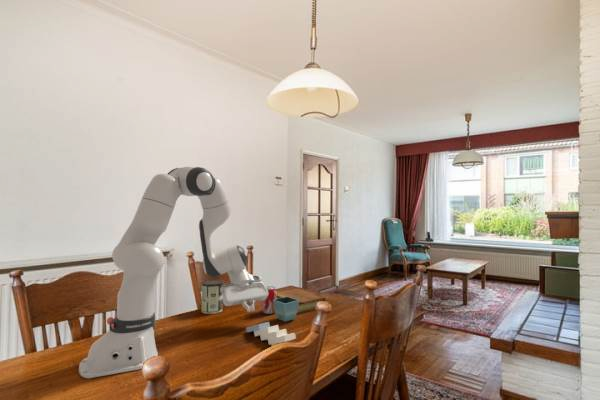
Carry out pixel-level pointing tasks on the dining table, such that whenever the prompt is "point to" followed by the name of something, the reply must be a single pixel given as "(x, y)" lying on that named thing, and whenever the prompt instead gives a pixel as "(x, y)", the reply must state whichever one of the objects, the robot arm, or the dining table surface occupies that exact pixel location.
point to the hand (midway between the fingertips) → (251, 310)
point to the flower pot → (286, 308)
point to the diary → (302, 299)
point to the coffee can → (212, 296)
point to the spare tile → (258, 327)
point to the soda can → (269, 301)
